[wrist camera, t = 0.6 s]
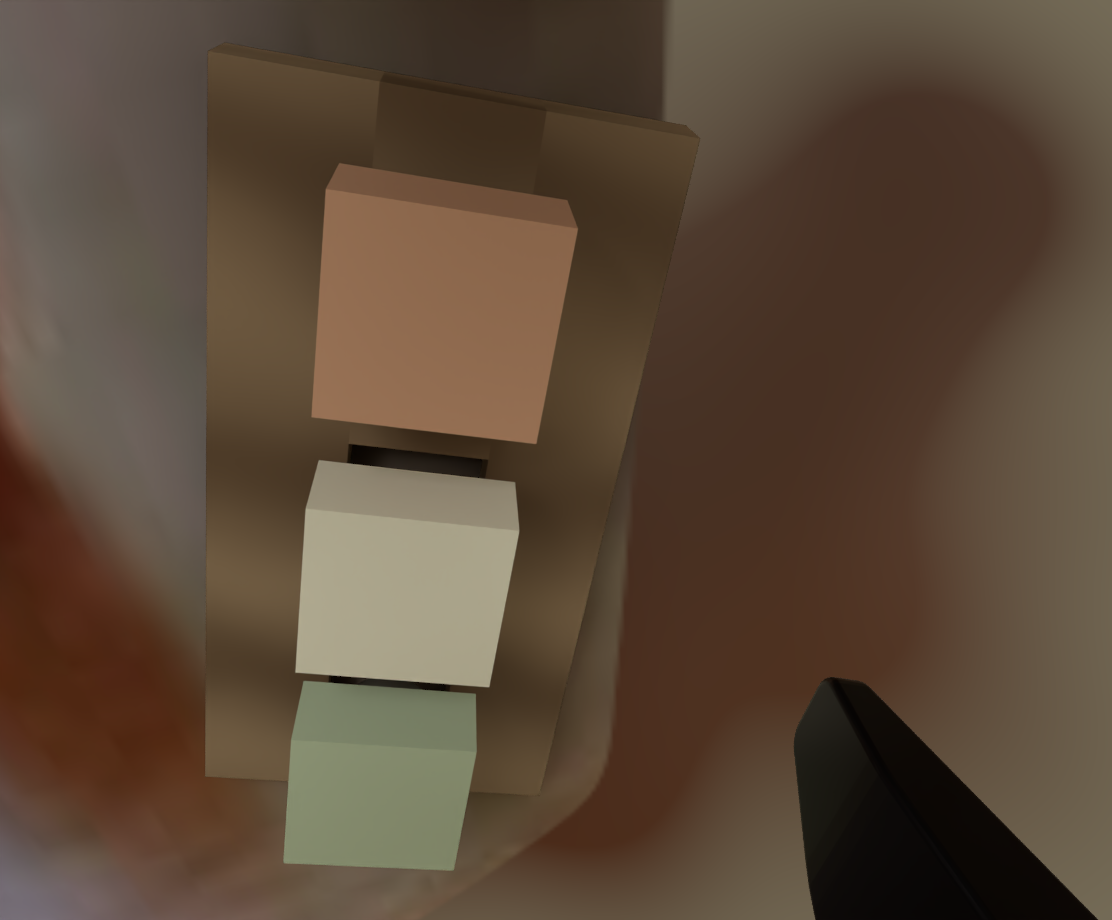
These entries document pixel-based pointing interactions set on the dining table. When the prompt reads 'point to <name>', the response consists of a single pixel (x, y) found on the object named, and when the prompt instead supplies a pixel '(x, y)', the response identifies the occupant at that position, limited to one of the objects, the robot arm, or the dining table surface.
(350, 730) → the pale green cube
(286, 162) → the walnut panel
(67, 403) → the dining table surface
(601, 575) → the dining table surface
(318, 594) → the white cube
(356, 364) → the salmon tan cube
